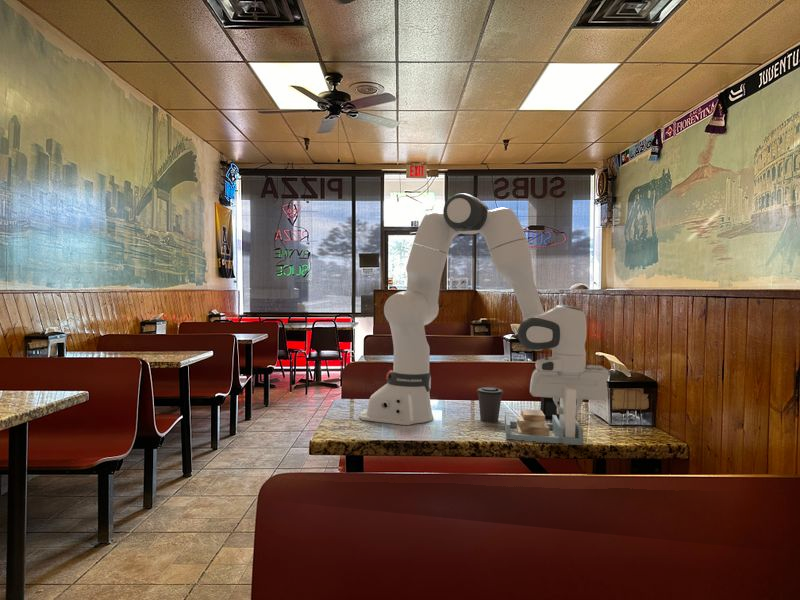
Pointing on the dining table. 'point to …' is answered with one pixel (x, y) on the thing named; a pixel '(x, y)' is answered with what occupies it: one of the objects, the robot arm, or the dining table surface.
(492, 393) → the coffee cup
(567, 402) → the white flat slab
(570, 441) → the slotted rack
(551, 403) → the digital camera
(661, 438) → the dining table surface
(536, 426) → the offcut stack
